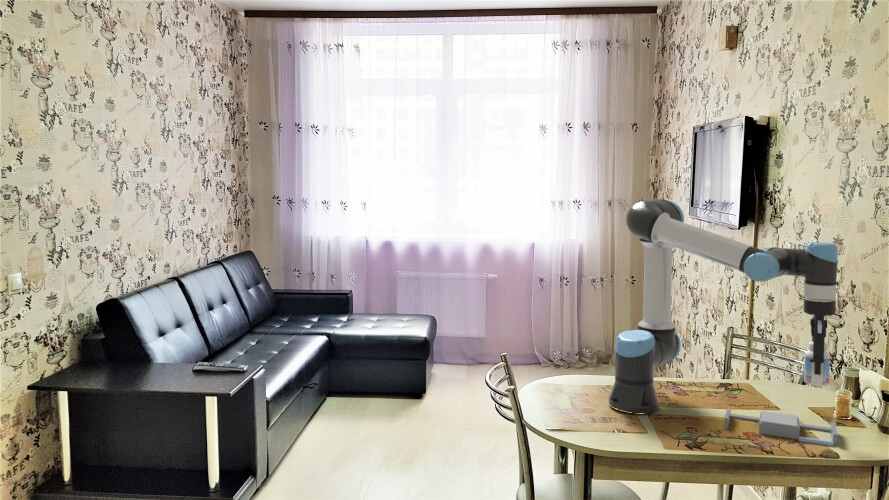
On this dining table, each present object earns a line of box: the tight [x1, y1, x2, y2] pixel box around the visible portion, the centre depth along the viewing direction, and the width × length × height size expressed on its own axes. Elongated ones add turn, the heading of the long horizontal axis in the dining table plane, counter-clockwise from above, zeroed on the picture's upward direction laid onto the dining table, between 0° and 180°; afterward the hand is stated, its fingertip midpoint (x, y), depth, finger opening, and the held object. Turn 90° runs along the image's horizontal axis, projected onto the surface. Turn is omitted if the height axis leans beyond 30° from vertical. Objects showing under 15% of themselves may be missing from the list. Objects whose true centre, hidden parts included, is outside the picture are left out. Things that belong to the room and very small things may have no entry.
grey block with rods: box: [723, 407, 839, 447], centre depth 188 cm, size 28×13×4 cm, turn 63°
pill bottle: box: [803, 341, 831, 387], centre depth 181 cm, size 6×6×11 cm
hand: (816, 381), depth 181 cm, fingers closed on pill bottle, 6 cm apart
